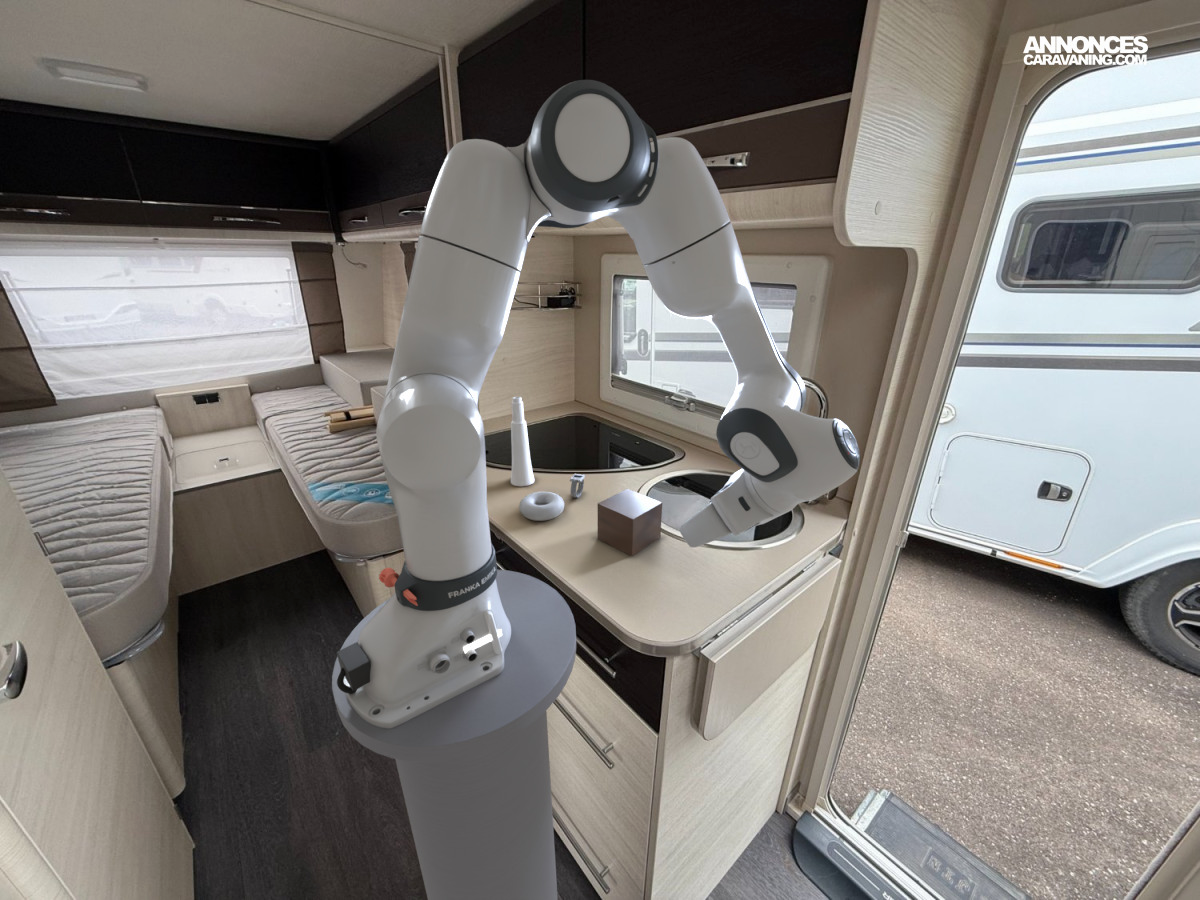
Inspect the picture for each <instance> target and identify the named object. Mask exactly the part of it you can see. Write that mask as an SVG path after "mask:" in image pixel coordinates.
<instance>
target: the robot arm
mask: <svg viewBox="0 0 1200 900" xmlns="http://www.w3.org/2000/svg"><path fill="white" fill-rule="evenodd" d="M533 120H534V121H533V124H532V128H531V132H530V134H529V136H528V137H527V139H526V141H525V142H524V143H521V144H520V145H517V146H510V147H509V146H506V147H505V146H503V145H502V144H499V143H498V142H495V141H491V140H489V139H480V138H471V139H470V138H469V139H468V138H467V139H465V140H460V141H459V142H457V143H456V144H454V145H453V146H452V148H450V149H449V151H448V152H447V154H446V156H445V158H444V161H443V163H442V165H441V168H440V169H439V172H438V175H437V177H436V179H435V182H434V184H433V187H432V190H431V193H430V196H429V199H428V202H427V205H426V208H425V212H424V215H423V219H422V224H421V227H420V231H419V236H418V239H417V245H416V249H415V253H414V256H413V257H414V258H413V262H412V267H411V272H410V277H409V281H408V285H407V290H406V294H405V298H404V303H403V308H402V313H401V318H400V322H399V328H398V329H399V330H398V332H397V337H396V341H395V342H396V343H395V347H394V352H393V356H392V361H391V365H390V366H391V367H390V371H389V376H388V379H387V385H386V389H385V393H384V397H383V401H382V404H381V409H380V413H379V416H378V420H377V424H376V430H375V435H376V442H377V447H378V451H379V456H380V460H381V465H382V468H383V472H384V476H385V479H386V483H387V487H388V490H389V493H390V497H391V499H392V503H393V506H394V508H395V513H396V517H397V521H398V527H399V533H400V538H401V545H402V549H403V555H404V562H403V564H402V568H401V572H400V574H399V573H397V572H396V570H394V569H393V568H392V567H385V568H384V569H382V570H381V571H380V573H379V574H378V576H379V577H378V580H379V581H380V582H381V583H382V584H383V585H384V586H385V587H386V588H394V593H393V594H392V595H391V596H390V597H389V598H390V599H389V598H388V599H389V600H388V599H387V600H388V601H387V602H386V604H385V605H384V606H383V607H382V608H381V609H380V610H379V611H378V613H377V614H376V615H375V616H374V617H373V618H372V619H371V620H370V621H369V622H368V623H367V624H366V626H365V627H364V628H363V629H362V631H361V633H360V636H359V640H358V643H357V642H356V643H354V644H352V645H350V646H348V647H346V648H344V649H342V650H340V649H339V650H338V651H336V658H337V657H338V661H339V664H340V668H341V671H340V674H339V676H338V679H337V686H338V687H339V689H340V690H341V691H343V692H345V695H346V697H347V699H348V701H349V703H350V704H351V706H352V707H353V708H354V710H355V711H356V712H357V713H358V714H359V715H360V717H362V718H363V719H364V720H365V721H367V722H368V723H370V724H372V725H375V726H377V727H381V728H386V729H390V728H393V727H396V726H398V725H400V724H402V723H404V722H406V721H408V720H410V719H412V718H414V717H416V716H418V715H420V714H422V713H424V712H426V711H428V710H430V709H432V708H434V707H436V706H438V705H440V704H441V703H443V702H445V701H447V700H449V699H451V698H453V697H455V696H457V695H459V694H461V693H463V692H465V691H467V690H469V689H471V688H473V687H475V686H477V685H479V684H481V683H483V682H485V681H487V680H489V679H491V678H493V677H495V676H497V675H498V674H500V673H501V672H502V671H503V669H504V663H505V662H504V653H505V650H506V648H507V646H508V643H509V641H510V638H511V625H510V622H509V620H508V618H507V616H506V614H505V612H504V609H503V606H502V603H501V600H500V596H499V592H498V588H497V583H496V576H497V569H498V563H497V557H496V556H497V555H496V549H495V546H494V545H493V543H492V540H491V529H490V520H489V519H490V518H489V510H488V497H487V496H488V494H487V493H488V492H487V491H488V490H487V489H488V488H487V486H488V485H487V484H488V483H487V482H488V480H487V458H486V457H487V454H486V439H485V438H486V437H485V427H484V421H483V419H482V415H481V414H480V412H479V407H478V405H479V398H480V393H481V390H482V387H483V385H484V382H485V379H486V377H487V374H488V371H489V369H490V366H491V364H492V362H493V360H494V357H495V354H496V352H497V350H498V348H499V346H500V345H501V343H502V341H503V338H504V334H505V330H506V327H507V323H508V320H509V317H510V311H511V309H512V305H513V301H514V298H515V293H516V290H517V287H518V282H519V280H520V276H521V272H522V268H523V264H524V261H525V257H526V253H527V249H528V247H529V243H530V241H531V238H532V235H533V234H534V231H535V230H536V228H537V227H543V228H544V227H545V228H559V229H575V228H581V227H584V226H586V225H588V224H590V223H592V222H595V221H597V220H599V219H601V218H603V217H608V218H611V219H613V220H615V221H616V222H617V223H619V224H620V225H621V226H622V228H623V229H624V230H625V231H626V232H627V234H628V236H629V237H630V239H632V242H633V244H634V247H635V249H636V252H637V255H638V257H639V260H640V262H641V264H642V268H643V269H644V271H645V274H646V276H647V279H648V281H649V284H650V285H651V287H652V289H653V291H654V293H655V294H656V296H657V297H658V299H659V300H660V302H661V303H662V305H663V306H664V307H665V309H666V310H668V312H670V313H672V314H674V315H677V316H679V317H682V318H686V319H691V320H693V319H694V320H698V319H699V320H701V319H703V320H706V321H708V322H710V323H711V324H712V325H713V326H714V327H715V329H716V330H717V331H718V333H719V335H720V337H721V340H722V341H723V344H724V346H725V348H726V349H727V352H728V354H729V357H730V359H731V361H732V363H733V365H734V368H735V371H736V376H737V377H736V386H735V390H734V393H733V395H732V397H731V399H730V401H729V403H728V404H727V405H726V408H725V409H724V412H723V413H722V415H721V418H720V420H719V422H718V423H717V426H716V431H715V432H716V433H715V434H716V435H715V436H716V440H717V444H718V446H719V448H720V449H721V451H722V452H723V454H724V455H725V456H726V457H727V458H728V459H730V461H732V462H733V463H734V464H736V465H737V466H739V467H740V468H741V469H738V470H737V471H736V472H734V473H732V474H731V475H730V477H729V478H728V481H727V482H726V483H725V484H724V486H723V487H721V489H720V490H718V491H717V492H716V493H715V494H714V495H713V496H711V497H710V502H709V503H707V504H706V505H705V506H704V507H702V508H701V509H700V510H699V511H697V512H696V513H695V514H693V515H692V516H691V517H690V518H689V519H687V520H686V521H685V522H683V523H682V525H681V526H679V528H678V531H679V533H680V535H681V536H682V538H683V540H684V541H685V542H686V544H687V545H688V546H689V548H698V547H701V546H703V545H706V544H710V543H712V542H714V541H717V540H719V539H722V538H724V537H726V536H728V535H731V534H732V535H733V536H739V535H741V534H742V533H745V532H747V531H749V530H750V529H752V528H754V527H757V526H760V525H765V524H766V523H768V522H770V521H773V520H775V519H778V517H781V516H782V515H785V514H787V513H789V512H791V511H792V510H793V509H794V508H796V507H797V506H798V505H799V504H801V503H804V502H810V501H813V500H815V499H817V498H820V497H822V496H824V495H825V494H828V493H829V492H831V491H833V490H835V489H836V488H838V487H840V486H841V485H843V484H845V483H846V482H847V481H848V480H849V479H851V478H852V477H853V476H854V475H856V474H857V472H858V470H859V467H860V460H861V459H860V458H861V457H860V448H859V445H858V443H857V442H858V441H857V439H856V437H855V435H854V434H853V432H852V431H851V429H850V428H849V426H848V425H847V424H846V423H844V422H843V421H842V420H840V419H839V418H823V417H819V416H814V415H811V414H807V413H804V412H802V410H803V408H804V406H805V403H806V400H807V389H806V385H805V383H804V380H803V379H802V377H801V376H800V374H799V373H798V372H797V371H796V370H795V368H793V367H792V366H791V364H790V363H789V362H788V361H787V360H786V359H785V358H784V357H783V356H782V354H781V352H780V350H779V349H778V346H777V344H776V343H775V339H774V337H773V335H772V333H771V330H770V327H769V325H768V322H767V321H766V318H765V316H764V314H763V311H762V308H761V306H760V304H759V301H758V299H757V297H756V295H755V293H754V291H753V288H752V285H751V282H750V278H749V276H748V273H747V269H746V266H745V262H744V259H743V256H742V252H741V248H740V245H739V242H738V239H737V236H736V233H735V229H734V226H733V224H732V221H731V219H730V216H729V213H728V210H727V208H726V205H725V203H724V200H723V197H722V196H721V193H720V191H719V188H718V186H717V184H716V183H715V182H716V181H714V178H713V176H712V174H711V172H710V170H709V169H708V166H707V165H706V163H705V161H704V160H703V158H702V156H701V154H700V153H699V151H698V149H697V148H696V147H695V145H694V144H692V143H691V142H690V141H689V140H687V139H686V138H683V137H677V136H667V137H662V138H658V137H657V134H656V132H655V131H654V129H653V128H652V127H651V126H650V125H649V124H647V123H646V121H644V120H643V119H642V118H640V117H639V115H638V114H637V112H636V111H635V109H634V107H632V105H631V104H630V103H629V102H628V101H627V100H626V99H625V97H624V96H623V95H621V94H620V93H619V92H618V91H617V90H616V89H614V88H613V87H612V86H609V85H607V84H606V83H604V82H601V81H598V80H595V79H580V80H574V81H572V82H569V83H567V84H565V85H563V86H561V87H560V88H557V90H556V91H554V92H553V93H552V94H551V95H550V96H549V97H548V98H547V99H546V100H545V102H543V104H542V106H541V107H540V108H539V109H538V111H537V113H536V115H535V118H534V119H533ZM651 139H652V141H651ZM485 670H487V671H485ZM377 713H379V714H377ZM375 714H377V715H375Z"/></svg>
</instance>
